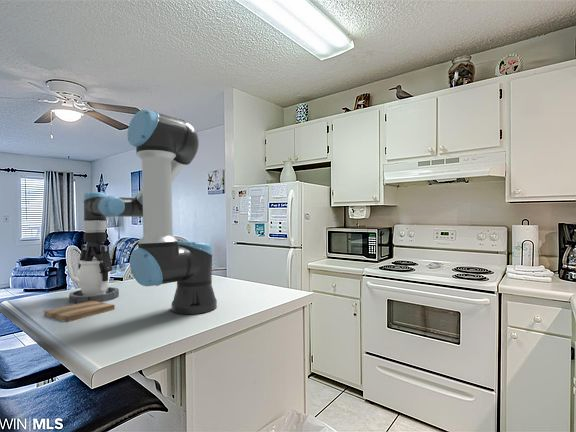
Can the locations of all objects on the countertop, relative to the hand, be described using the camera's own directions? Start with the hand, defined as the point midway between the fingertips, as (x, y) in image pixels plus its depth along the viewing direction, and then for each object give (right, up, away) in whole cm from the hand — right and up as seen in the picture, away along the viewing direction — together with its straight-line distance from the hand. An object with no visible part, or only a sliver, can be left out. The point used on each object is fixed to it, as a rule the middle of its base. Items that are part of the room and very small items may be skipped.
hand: (94, 288), depth 125 cm
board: (+7, -4, -19) cm, 21 cm away
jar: (0, -4, 0) cm, 4 cm away
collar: (0, -4, 0) cm, 4 cm away
